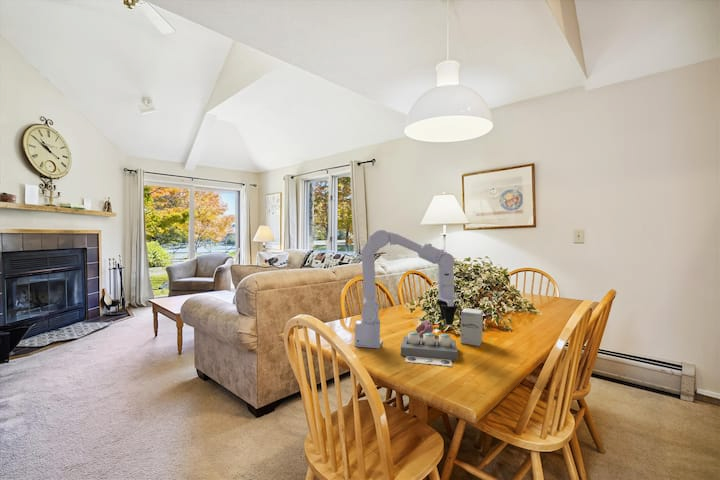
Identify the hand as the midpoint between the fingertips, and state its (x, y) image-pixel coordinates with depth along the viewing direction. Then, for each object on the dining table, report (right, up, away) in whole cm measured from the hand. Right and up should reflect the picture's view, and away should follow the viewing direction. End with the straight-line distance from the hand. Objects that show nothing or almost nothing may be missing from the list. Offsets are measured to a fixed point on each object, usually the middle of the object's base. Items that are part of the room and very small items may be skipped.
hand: (447, 321), depth 122 cm
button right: (-2, -8, -5) cm, 10 cm away
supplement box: (+11, -10, +7) cm, 17 cm away
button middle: (-8, -8, -4) cm, 12 cm away
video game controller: (-5, -10, +16) cm, 19 cm away
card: (-10, -10, -12) cm, 19 cm away
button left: (-13, -8, -3) cm, 15 cm away
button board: (-8, -10, -4) cm, 13 cm away
